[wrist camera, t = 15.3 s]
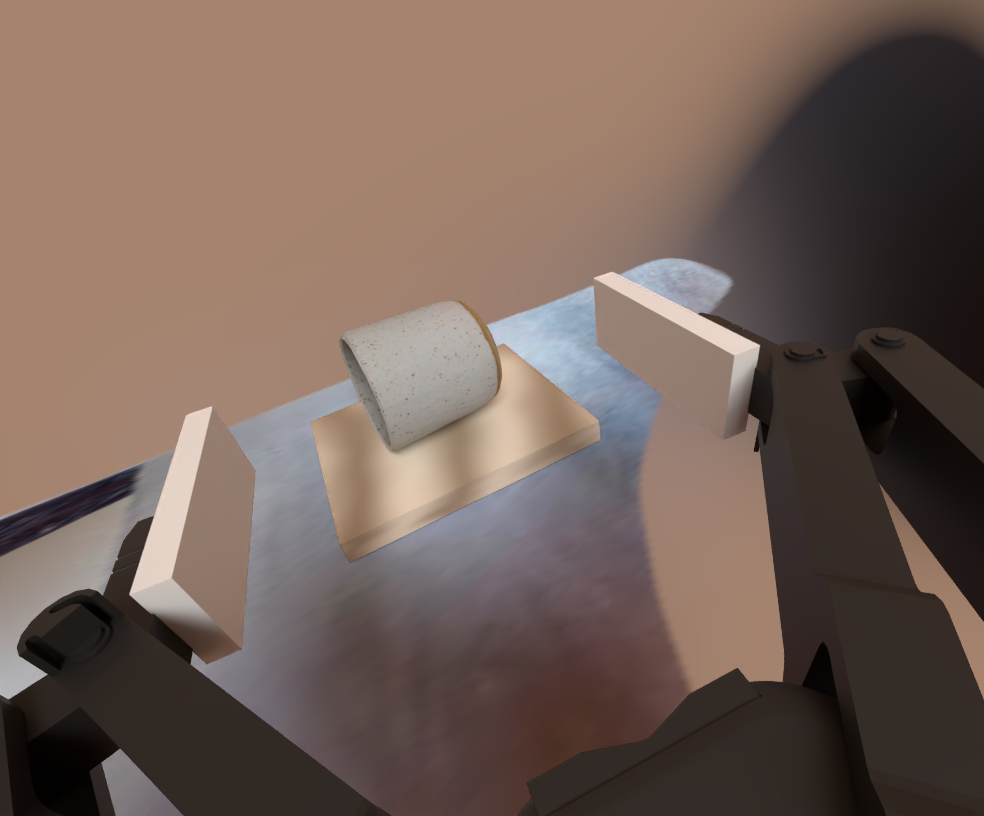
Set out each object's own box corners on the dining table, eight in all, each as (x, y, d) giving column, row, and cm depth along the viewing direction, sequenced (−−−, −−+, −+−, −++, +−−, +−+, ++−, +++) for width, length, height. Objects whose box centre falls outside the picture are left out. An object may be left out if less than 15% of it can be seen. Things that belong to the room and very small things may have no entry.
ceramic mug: (519, 412, 30) (496, 300, 26) (405, 475, 28) (357, 362, 23) (446, 359, 38) (419, 267, 34) (352, 404, 36) (309, 310, 31)
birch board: (350, 562, 25) (339, 544, 24) (318, 437, 35) (310, 422, 35) (600, 440, 29) (599, 421, 28) (507, 359, 39) (503, 343, 38)
